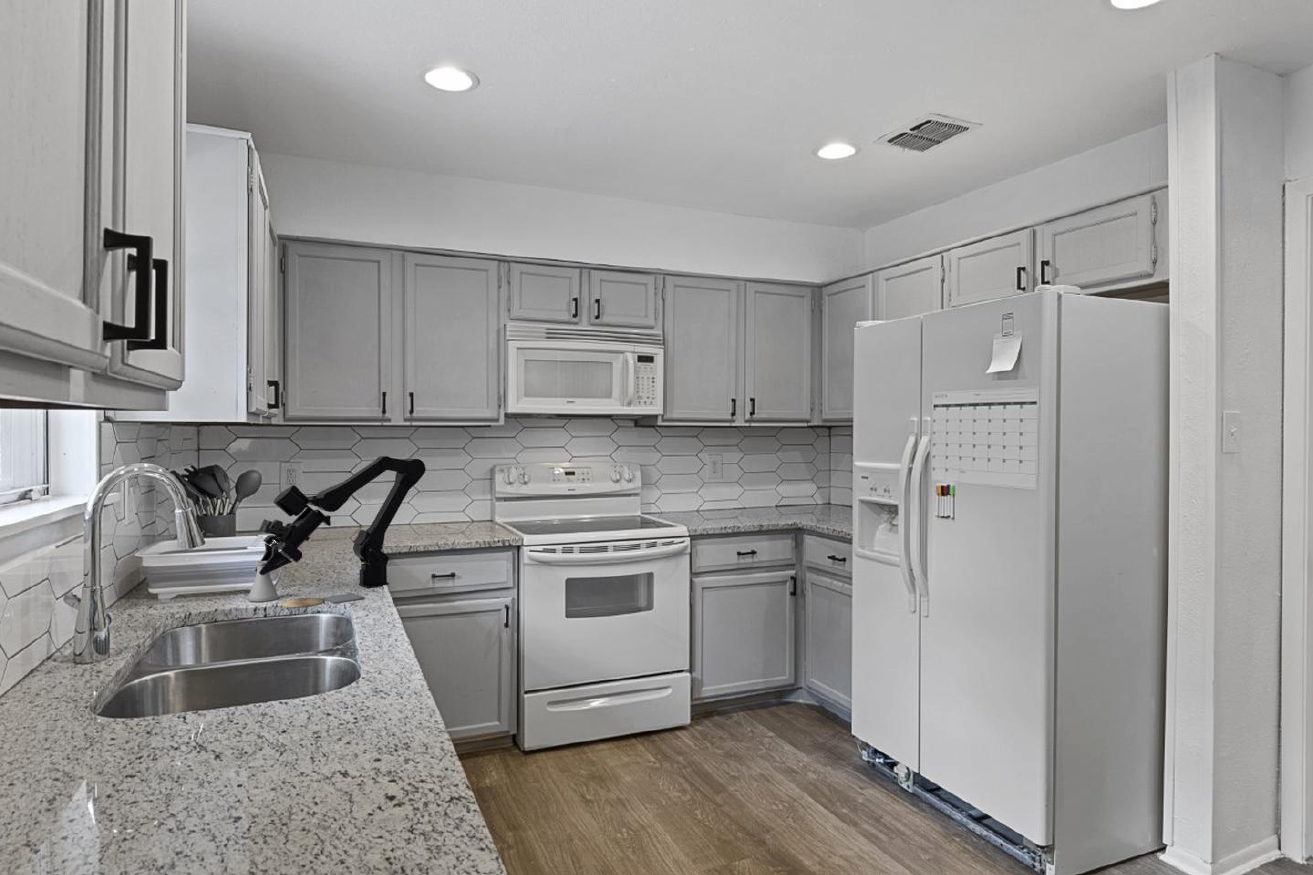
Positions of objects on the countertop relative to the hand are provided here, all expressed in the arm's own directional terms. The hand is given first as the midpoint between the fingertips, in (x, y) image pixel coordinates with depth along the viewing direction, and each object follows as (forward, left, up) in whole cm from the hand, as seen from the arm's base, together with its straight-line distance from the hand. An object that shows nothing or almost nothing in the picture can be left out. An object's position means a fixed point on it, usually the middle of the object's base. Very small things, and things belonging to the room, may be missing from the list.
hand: (258, 573), depth 206 cm
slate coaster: (-17, +15, -7) cm, 23 cm away
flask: (-1, 0, -7) cm, 7 cm away
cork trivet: (-7, +12, -7) cm, 16 cm away
